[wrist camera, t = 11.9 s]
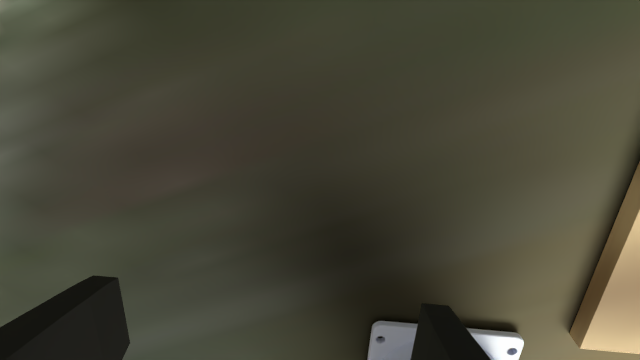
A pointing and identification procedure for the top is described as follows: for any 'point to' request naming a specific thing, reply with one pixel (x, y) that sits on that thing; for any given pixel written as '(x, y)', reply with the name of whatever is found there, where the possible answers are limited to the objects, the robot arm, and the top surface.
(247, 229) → the top surface
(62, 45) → the top surface
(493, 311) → the top surface
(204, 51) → the top surface
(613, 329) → the board
